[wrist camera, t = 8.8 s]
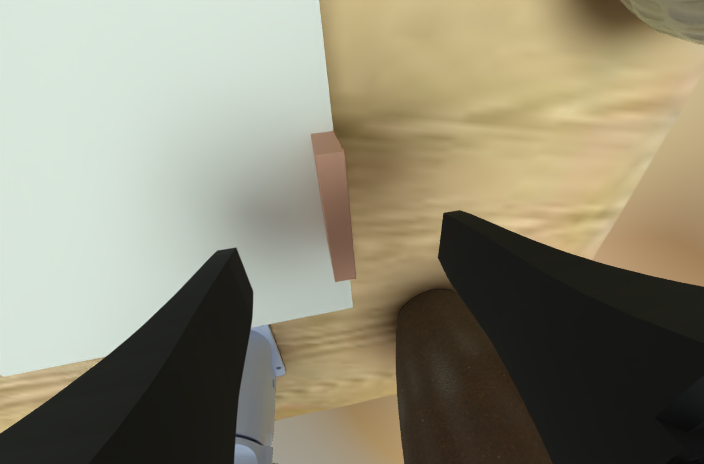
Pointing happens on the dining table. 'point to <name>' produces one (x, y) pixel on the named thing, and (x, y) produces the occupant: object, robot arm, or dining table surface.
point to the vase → (671, 17)
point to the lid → (162, 166)
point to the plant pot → (457, 390)
